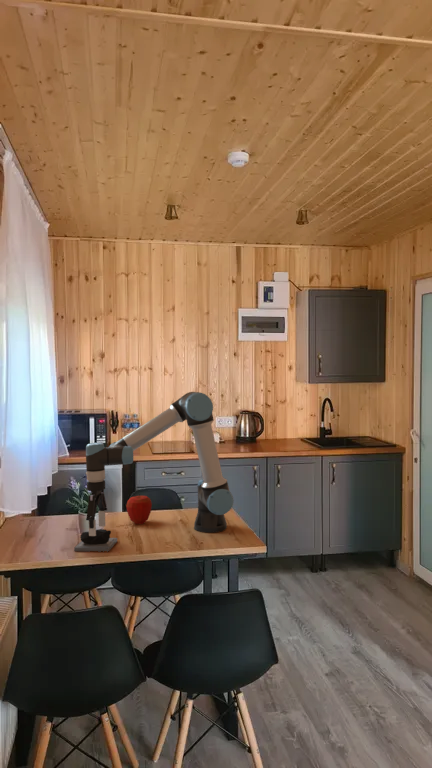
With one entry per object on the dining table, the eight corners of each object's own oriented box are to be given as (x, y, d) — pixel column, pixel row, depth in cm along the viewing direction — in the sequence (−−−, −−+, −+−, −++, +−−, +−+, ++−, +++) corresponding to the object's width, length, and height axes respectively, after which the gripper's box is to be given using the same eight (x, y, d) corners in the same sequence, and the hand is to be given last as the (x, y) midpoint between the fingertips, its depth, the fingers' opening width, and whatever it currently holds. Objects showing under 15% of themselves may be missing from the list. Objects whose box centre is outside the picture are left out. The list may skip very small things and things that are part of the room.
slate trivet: (117, 541, 240) (117, 537, 240) (108, 551, 226) (108, 547, 226) (85, 540, 241) (85, 536, 241) (74, 551, 227) (74, 547, 227)
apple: (145, 518, 277) (145, 490, 277) (156, 524, 267) (156, 494, 267) (122, 522, 271) (122, 493, 270) (132, 528, 260) (131, 498, 260)
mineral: (92, 548, 226) (92, 533, 226) (78, 543, 232) (78, 529, 232) (112, 542, 234) (111, 528, 234) (98, 538, 240) (97, 524, 240)
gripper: (96, 474, 246) (97, 522, 247) (77, 486, 221) (78, 539, 222) (112, 474, 245) (114, 522, 246) (95, 486, 220) (97, 540, 221)
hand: (97, 530), depth 234 cm, fingers open, 13 cm apart
